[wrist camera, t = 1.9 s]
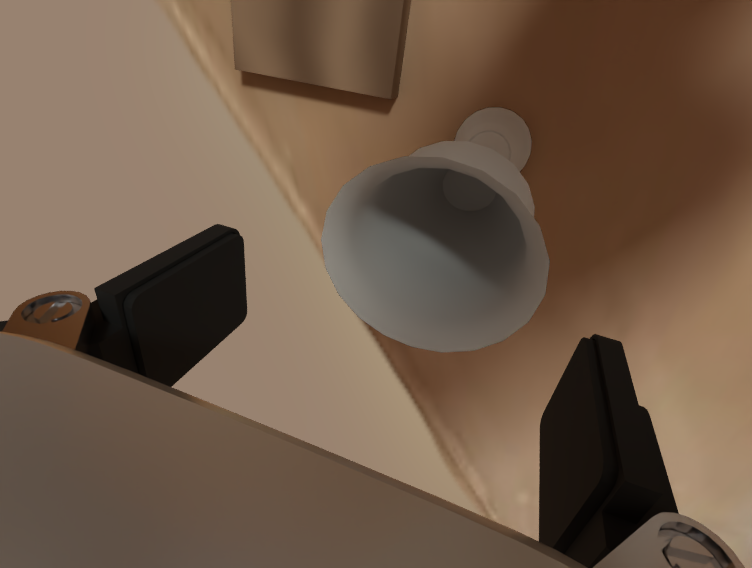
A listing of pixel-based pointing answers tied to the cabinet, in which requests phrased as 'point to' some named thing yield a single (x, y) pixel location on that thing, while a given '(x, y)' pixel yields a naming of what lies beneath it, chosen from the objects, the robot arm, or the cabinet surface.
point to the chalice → (442, 239)
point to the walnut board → (324, 42)
